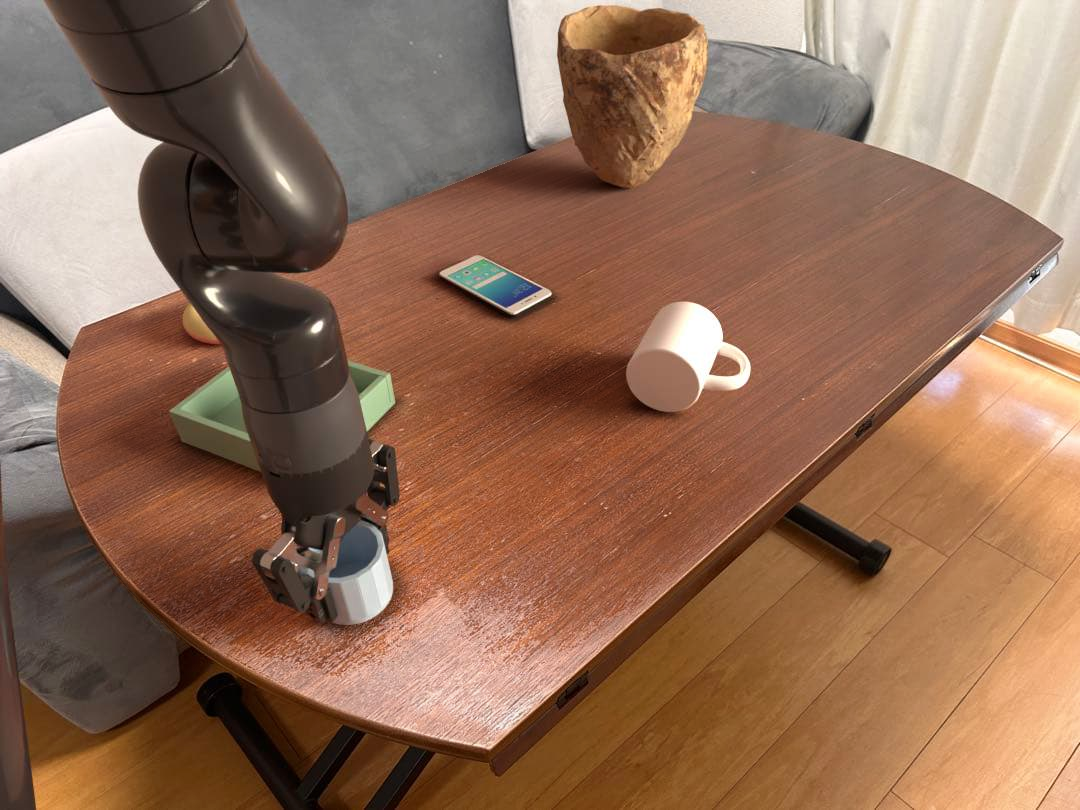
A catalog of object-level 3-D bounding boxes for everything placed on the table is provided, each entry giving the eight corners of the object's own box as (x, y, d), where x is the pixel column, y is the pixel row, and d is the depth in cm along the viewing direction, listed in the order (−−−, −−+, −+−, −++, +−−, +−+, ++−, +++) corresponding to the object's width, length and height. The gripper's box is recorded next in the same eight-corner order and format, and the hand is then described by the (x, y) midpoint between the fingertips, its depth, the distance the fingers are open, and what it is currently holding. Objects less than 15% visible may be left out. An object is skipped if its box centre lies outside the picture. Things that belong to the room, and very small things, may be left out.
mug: (623, 402, 82) (627, 341, 77) (650, 353, 89) (655, 294, 84) (734, 430, 78) (746, 368, 73) (753, 376, 85) (765, 316, 80)
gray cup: (362, 637, 60) (350, 594, 56) (299, 607, 62) (283, 565, 58) (408, 577, 64) (399, 534, 61) (347, 552, 66) (335, 509, 63)
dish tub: (308, 490, 72) (299, 459, 70) (181, 441, 78) (168, 411, 75) (395, 403, 82) (390, 373, 80) (277, 365, 88) (268, 335, 86)
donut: (219, 370, 91) (284, 328, 95) (206, 344, 88) (274, 302, 92) (176, 329, 95) (239, 291, 100) (161, 302, 92) (228, 264, 96)
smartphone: (478, 253, 106) (554, 291, 98) (478, 259, 107) (554, 297, 98) (436, 273, 102) (512, 314, 94) (437, 278, 103) (512, 320, 94)
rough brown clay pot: (529, 192, 124) (524, 26, 108) (597, 148, 139) (602, -4, 123) (652, 224, 114) (666, 46, 99) (712, 173, 129) (733, 11, 113)
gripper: (331, 362, 58) (366, 510, 69) (189, 483, 48) (256, 635, 59) (413, 387, 55) (437, 538, 66) (281, 521, 45) (333, 673, 56)
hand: (351, 583), depth 62 cm, fingers closed on gray cup, 6 cm apart
